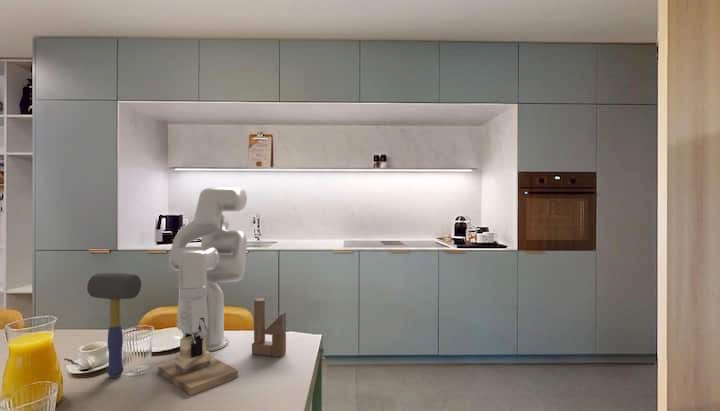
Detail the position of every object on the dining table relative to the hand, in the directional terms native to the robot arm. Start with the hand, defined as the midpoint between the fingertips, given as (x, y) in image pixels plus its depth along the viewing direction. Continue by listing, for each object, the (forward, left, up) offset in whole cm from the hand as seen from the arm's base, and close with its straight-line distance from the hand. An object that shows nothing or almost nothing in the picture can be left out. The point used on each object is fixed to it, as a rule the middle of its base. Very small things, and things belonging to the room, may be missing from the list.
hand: (193, 353), depth 116 cm
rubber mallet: (-15, -16, -6) cm, 22 cm away
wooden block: (+5, +23, -6) cm, 25 cm away
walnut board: (+2, 0, -6) cm, 6 cm away
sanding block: (0, 0, -4) cm, 4 cm away
